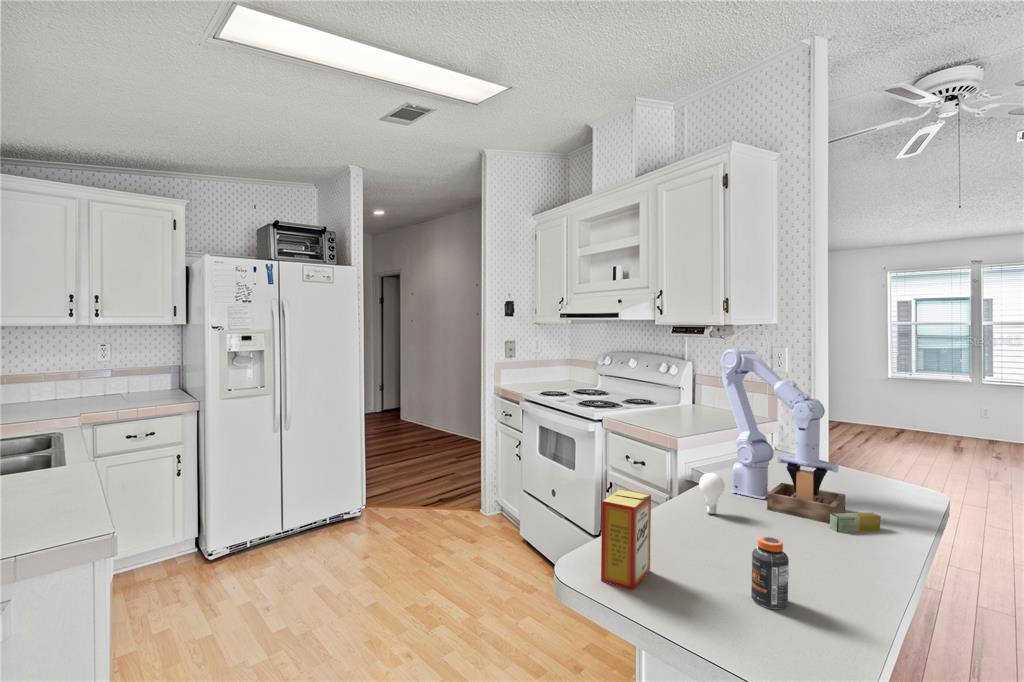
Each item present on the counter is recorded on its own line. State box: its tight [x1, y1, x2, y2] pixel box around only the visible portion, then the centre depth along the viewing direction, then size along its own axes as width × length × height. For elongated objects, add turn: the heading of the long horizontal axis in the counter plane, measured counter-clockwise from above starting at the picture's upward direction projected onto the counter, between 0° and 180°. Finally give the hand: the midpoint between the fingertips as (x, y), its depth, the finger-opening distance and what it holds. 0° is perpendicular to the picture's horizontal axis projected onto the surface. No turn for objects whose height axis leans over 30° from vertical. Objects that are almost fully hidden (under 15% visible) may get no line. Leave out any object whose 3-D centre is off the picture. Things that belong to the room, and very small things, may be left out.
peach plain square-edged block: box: [796, 468, 816, 502], centre depth 142 cm, size 4×4×8 cm
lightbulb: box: [698, 472, 726, 515], centre depth 139 cm, size 6×6×11 cm
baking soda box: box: [600, 488, 652, 591], centre depth 103 cm, size 10×6×16 cm
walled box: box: [766, 482, 846, 524], centre depth 142 cm, size 16×14×4 cm
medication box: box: [828, 511, 882, 533], centre depth 129 cm, size 12×3×4 cm, turn 97°
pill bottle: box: [750, 535, 790, 610], centre depth 94 cm, size 6×6×11 cm
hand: (806, 493), depth 142 cm, fingers closed on peach plain square-edged block, 4 cm apart
